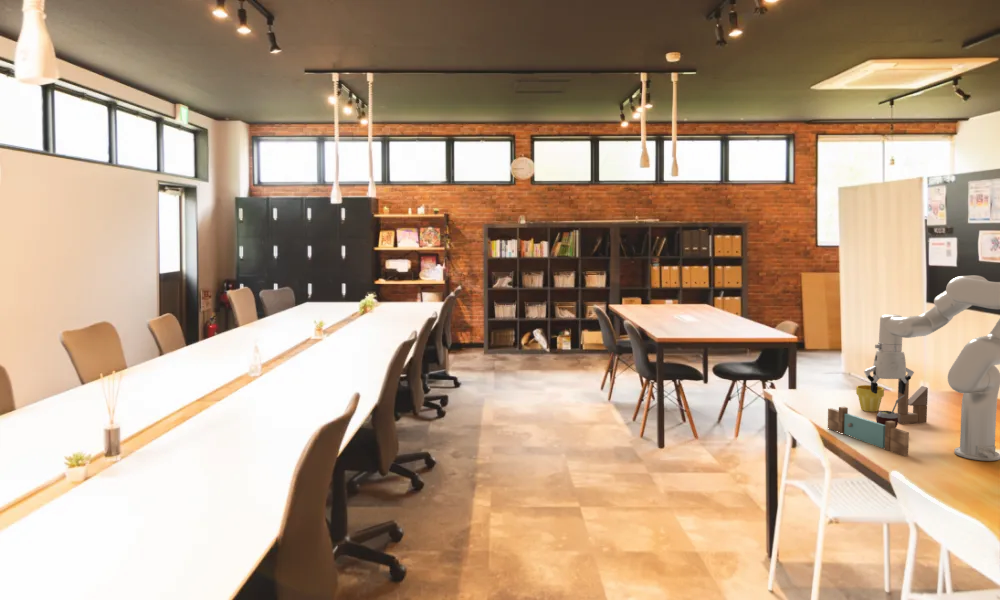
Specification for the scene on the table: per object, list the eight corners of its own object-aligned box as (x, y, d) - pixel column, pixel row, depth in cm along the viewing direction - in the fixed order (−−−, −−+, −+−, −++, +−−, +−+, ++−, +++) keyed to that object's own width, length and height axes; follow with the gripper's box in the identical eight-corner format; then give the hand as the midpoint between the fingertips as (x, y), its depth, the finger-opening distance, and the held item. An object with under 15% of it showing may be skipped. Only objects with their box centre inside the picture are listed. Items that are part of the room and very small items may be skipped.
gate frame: (909, 455, 230) (910, 426, 229) (903, 456, 230) (904, 426, 229) (832, 428, 265) (832, 403, 264) (826, 429, 264) (827, 403, 263)
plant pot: (859, 412, 288) (860, 389, 287) (853, 406, 298) (853, 384, 297) (886, 413, 286) (887, 390, 285) (879, 407, 296) (879, 385, 295)
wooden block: (927, 423, 270) (928, 378, 268) (900, 423, 269) (901, 378, 268) (920, 420, 274) (922, 376, 272) (894, 421, 273) (896, 377, 272)
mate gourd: (871, 432, 259) (872, 393, 258) (886, 429, 262) (887, 390, 261) (890, 437, 252) (891, 397, 251) (904, 434, 255) (905, 394, 254)
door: (885, 447, 239) (886, 425, 238) (880, 448, 239) (880, 425, 238) (846, 434, 256) (847, 413, 256) (841, 434, 256) (842, 413, 255)
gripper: (870, 349, 251) (868, 395, 253) (919, 349, 250) (917, 395, 252) (861, 345, 259) (859, 390, 261) (909, 346, 257) (906, 390, 259)
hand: (887, 392), depth 256 cm, fingers open, 9 cm apart
